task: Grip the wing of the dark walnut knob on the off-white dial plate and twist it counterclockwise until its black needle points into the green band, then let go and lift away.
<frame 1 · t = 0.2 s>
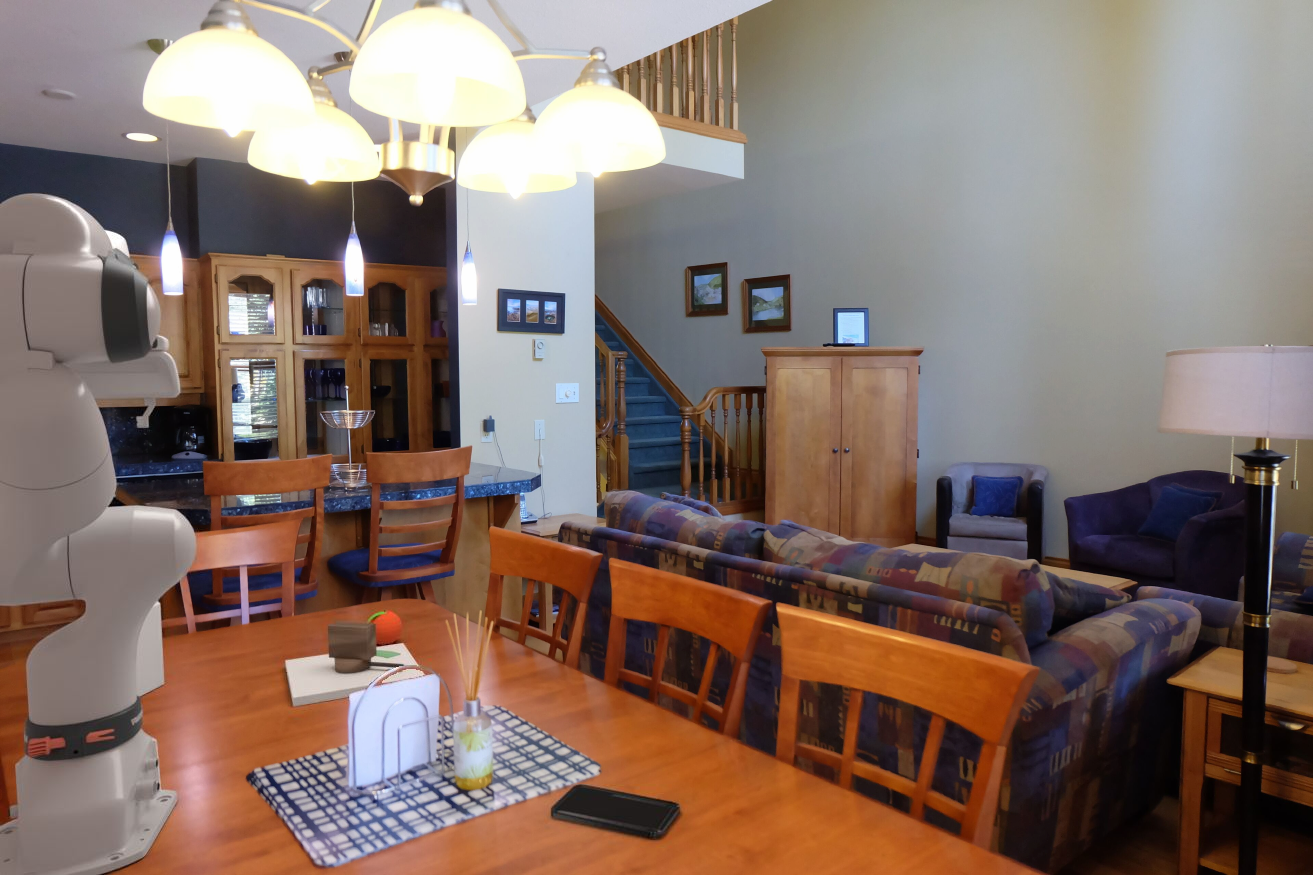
hand: (107, 428, 129), 48 cm above the table, tool pointing down, fingers open, 8 cm apart
dial plate: (353, 675, 155), on the table
phone: (615, 816, 104), on the table
clementine: (383, 645, 174), on the table
tuning knob: (367, 646, 154), point 6 cm above the table, hinge at 0.0°
milk carton: (132, 692, 149), on the table
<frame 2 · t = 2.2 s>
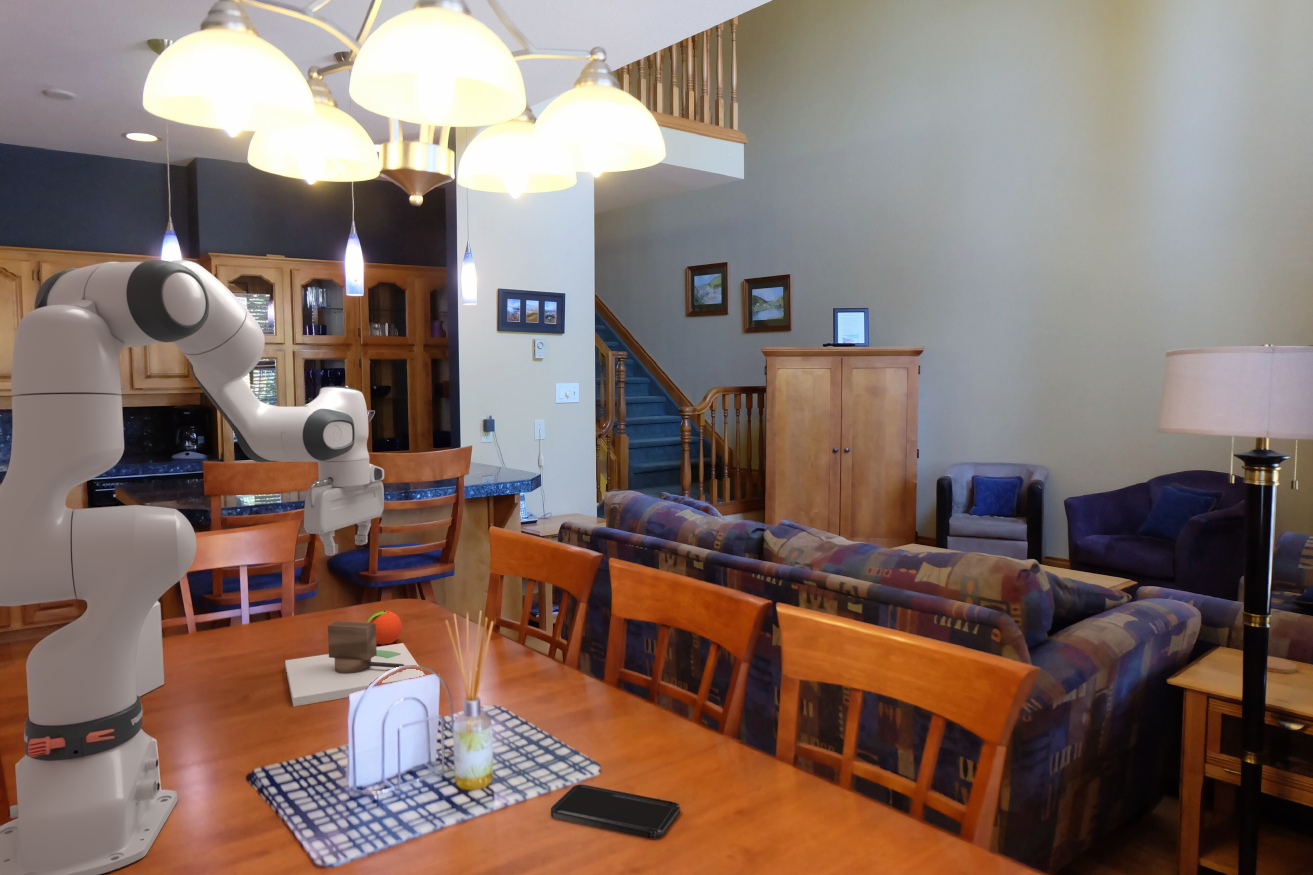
hand: (346, 549, 154), 24 cm above the table, tool pointing down, fingers open, 8 cm apart
nothing on the table moved.
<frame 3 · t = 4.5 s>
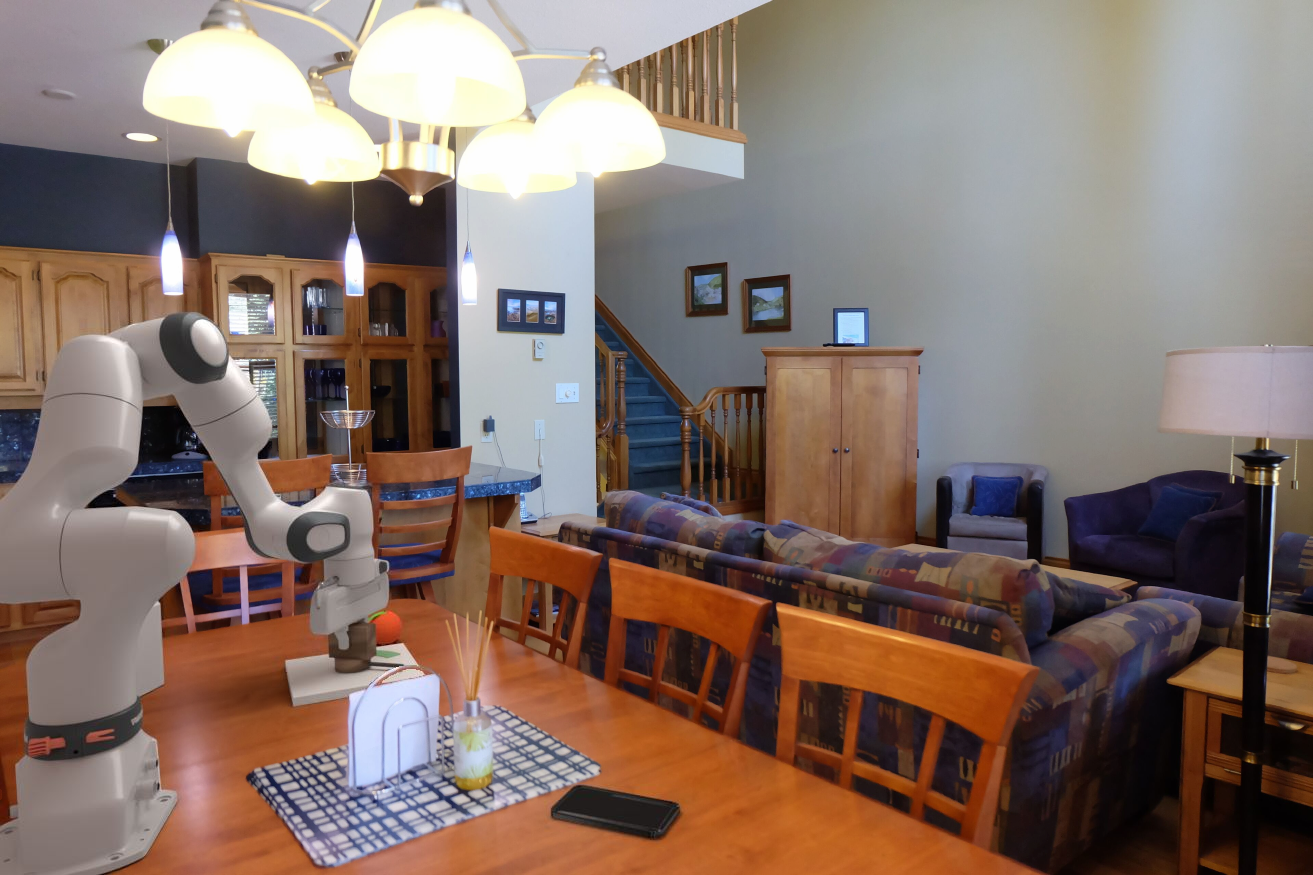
hand: (352, 644, 155), 6 cm above the table, tool pointing down, fingers closed on tuning knob, 3 cm apart
tuning knob: (367, 646, 154), point 6 cm above the table, hinge at 0.0°, touching gripper
everything else where it was.
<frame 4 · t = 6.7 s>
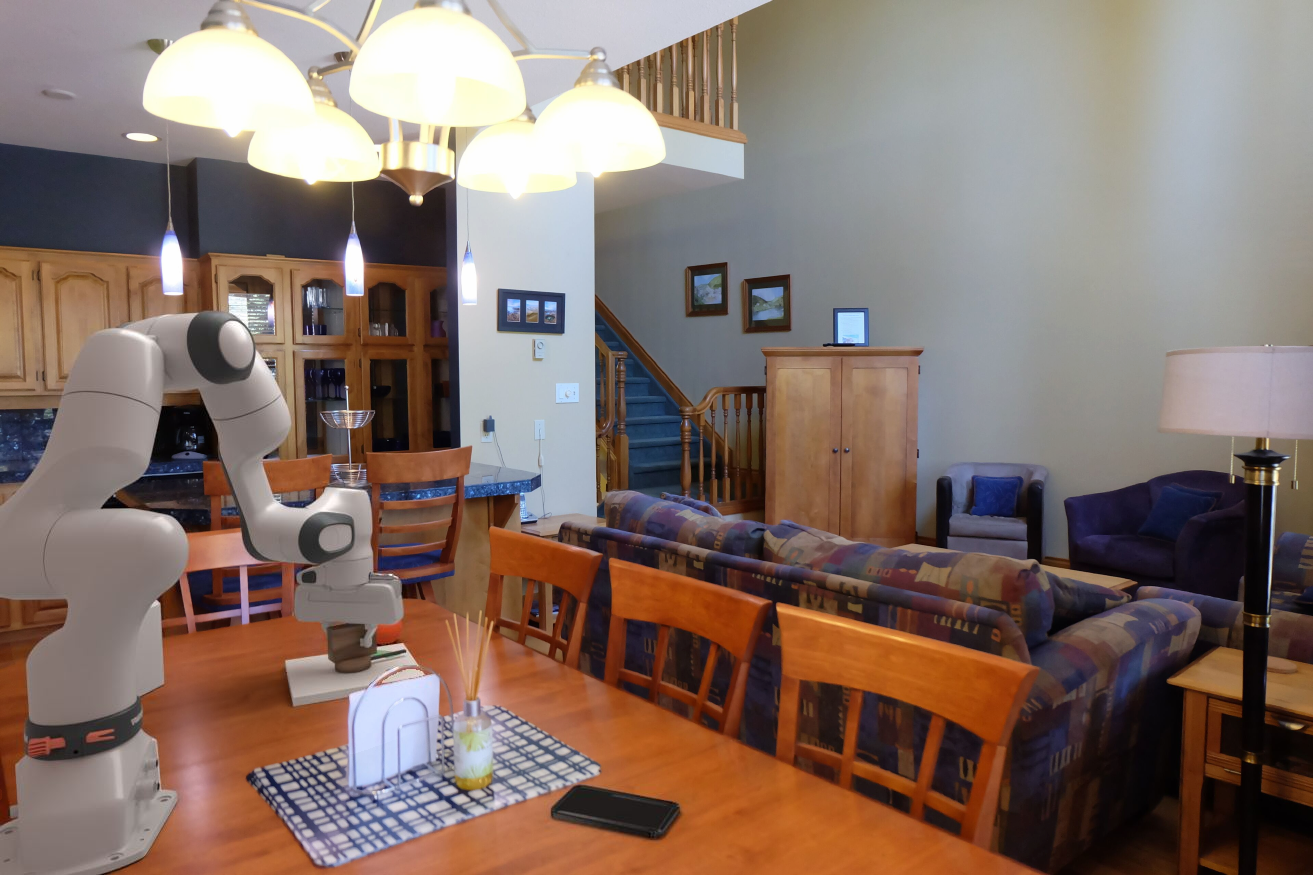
hand: (350, 645, 154), 6 cm above the table, tool pointing down, fingers closed on tuning knob, 5 cm apart
tuning knob: (368, 642, 157), point 6 cm above the table, hinge at 53.3°, touching gripper
everything else where it was.
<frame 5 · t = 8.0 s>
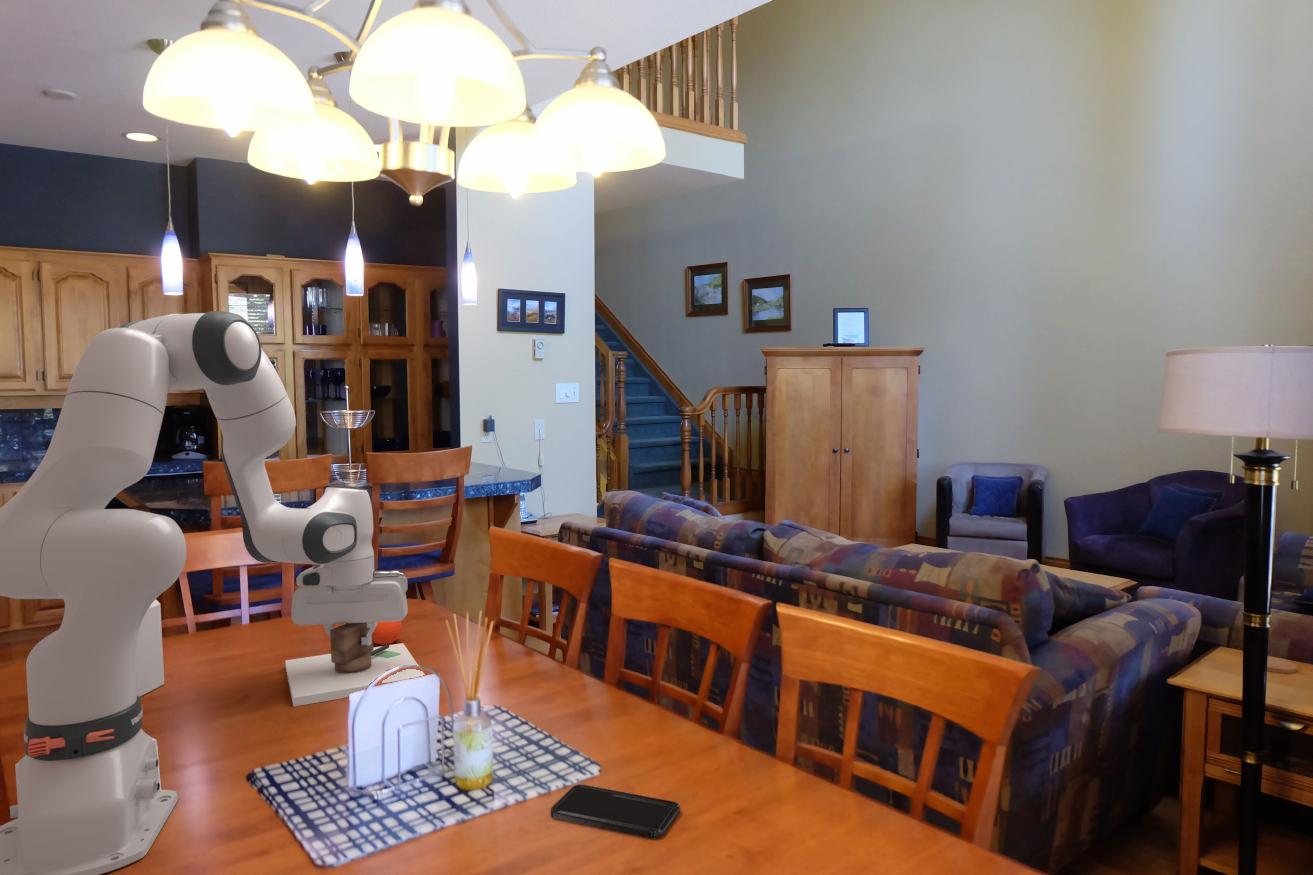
hand: (351, 645, 155), 6 cm above the table, tool pointing down, fingers closed on tuning knob, 4 cm apart
tuning knob: (363, 640, 158), point 6 cm above the table, hinge at 84.1°, touching gripper
everything else where it was.
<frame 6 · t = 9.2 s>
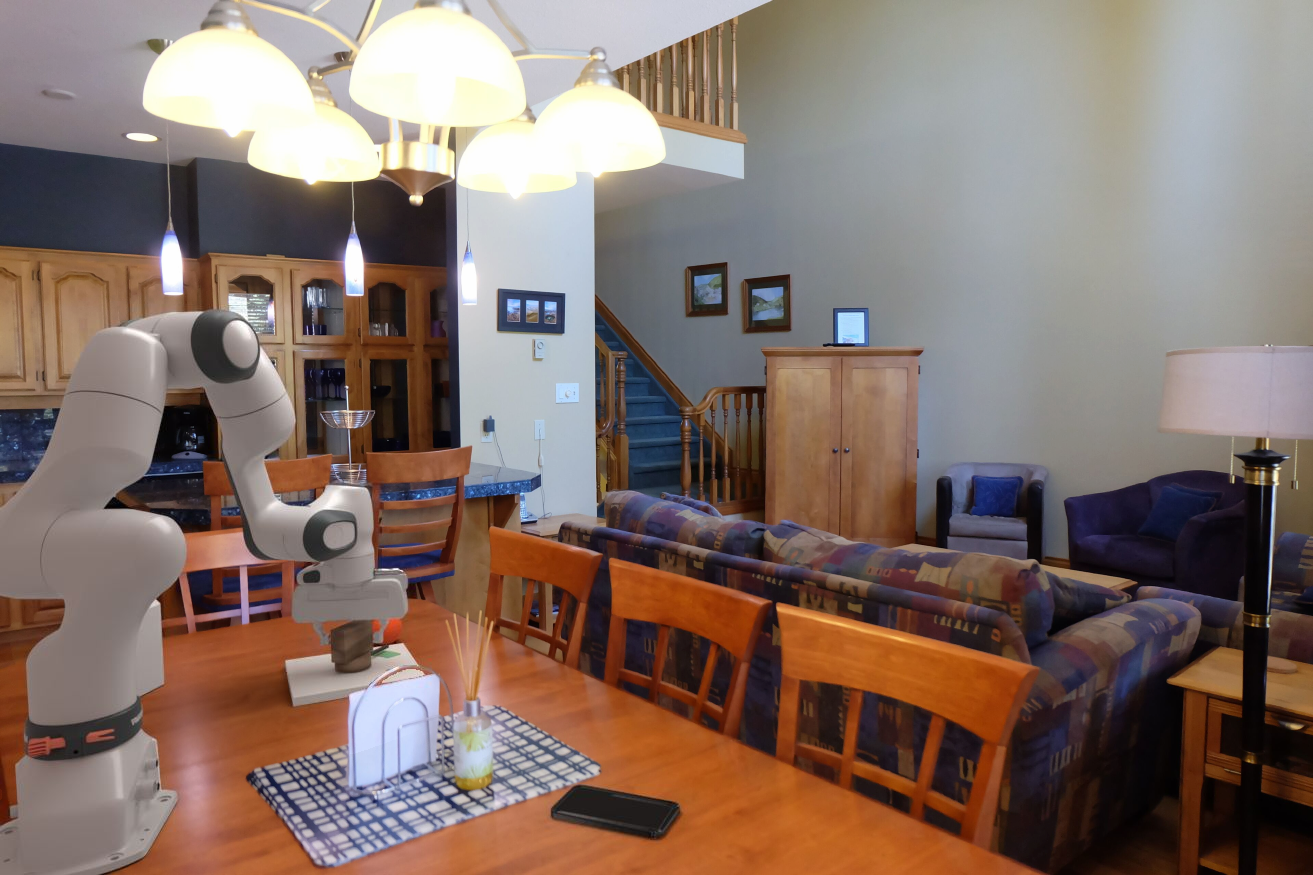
hand: (352, 643, 155), 6 cm above the table, tool pointing down, fingers open, 8 cm apart
tuning knob: (363, 640, 158), point 6 cm above the table, hinge at 84.6°
everything else where it was.
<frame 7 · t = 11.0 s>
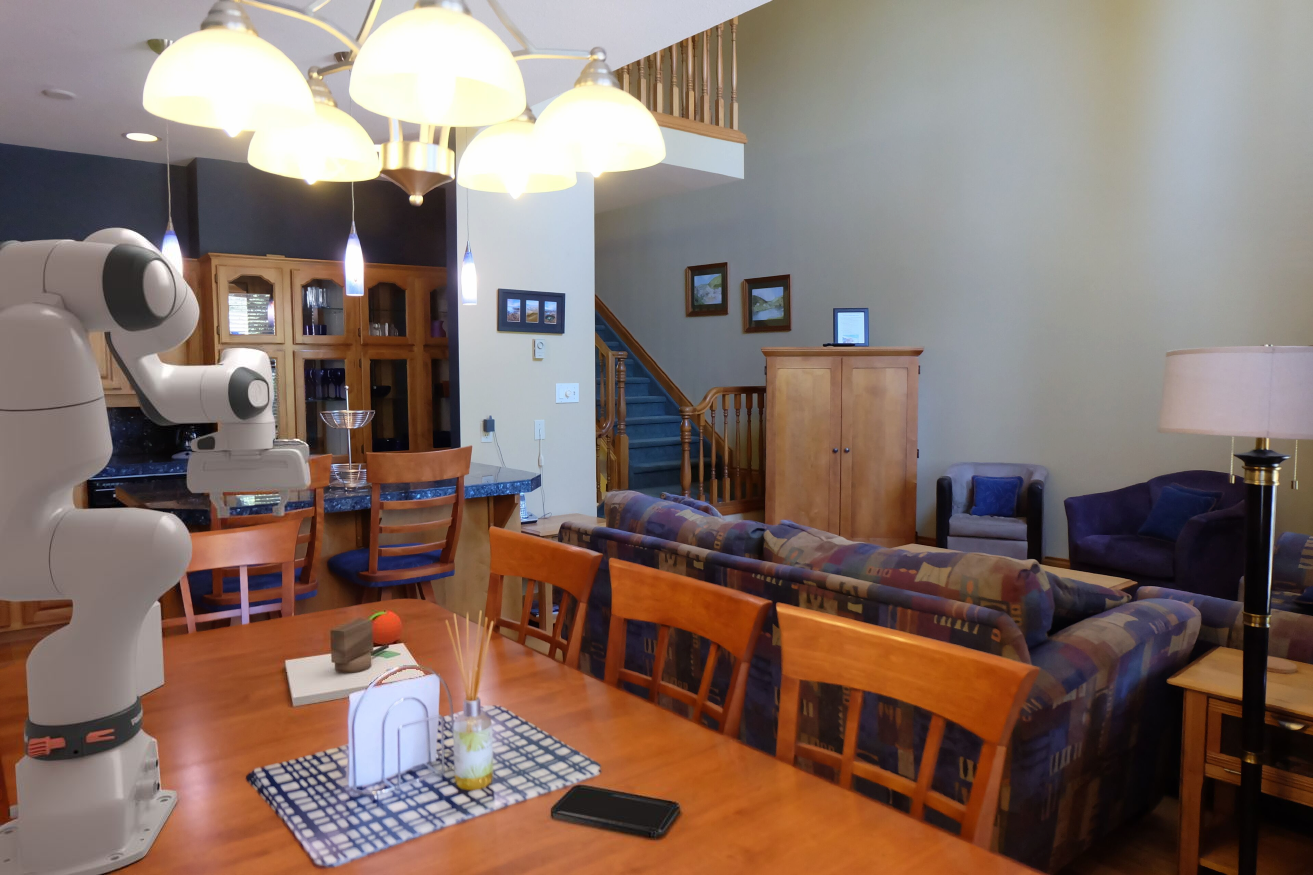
hand: (251, 516, 149), 31 cm above the table, tool pointing down, fingers open, 8 cm apart
nothing on the table moved.
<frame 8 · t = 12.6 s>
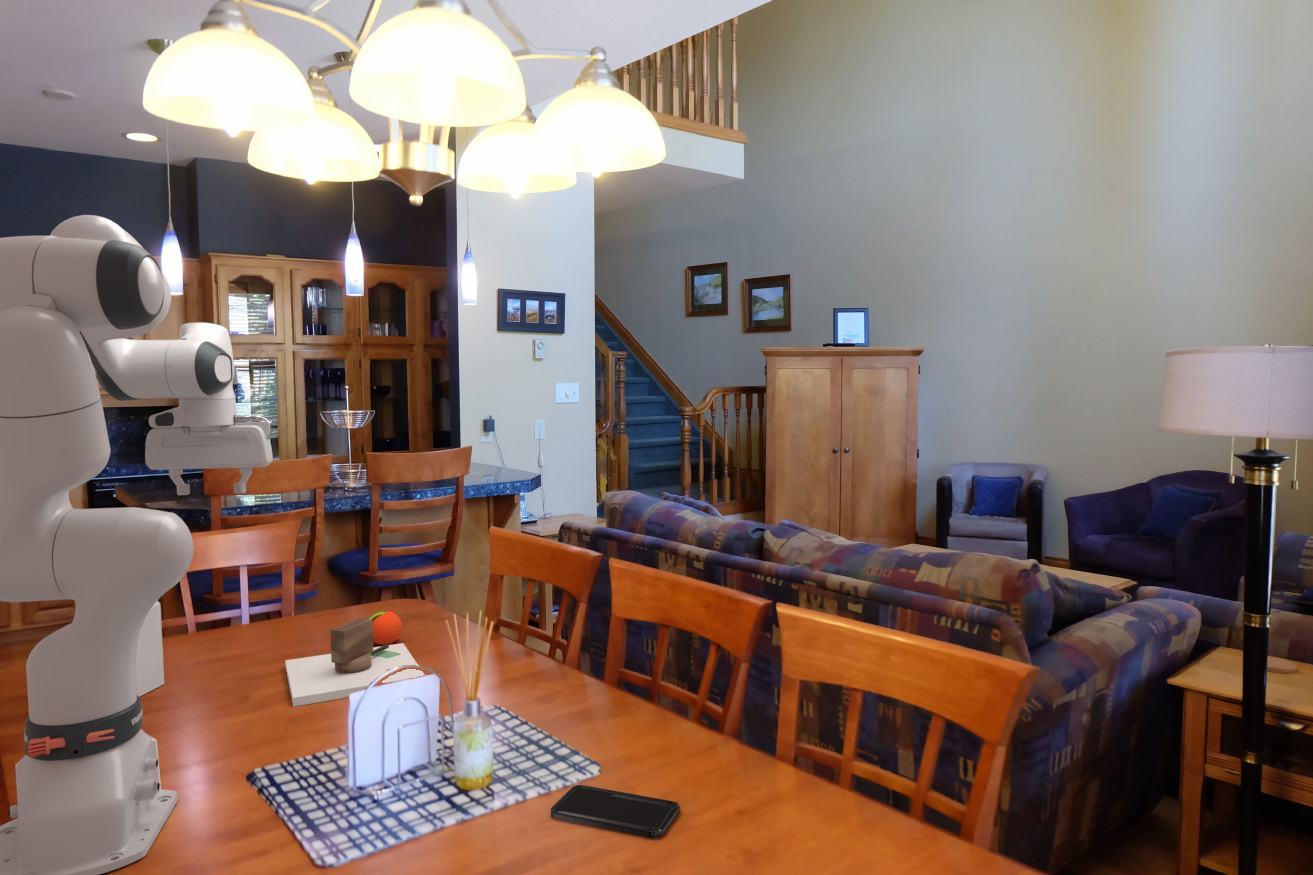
hand: (212, 493, 147), 35 cm above the table, tool pointing down, fingers open, 8 cm apart
nothing on the table moved.
at the end: tuning knob at +85° (first picture: +0°); the gripper is holding nothing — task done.
